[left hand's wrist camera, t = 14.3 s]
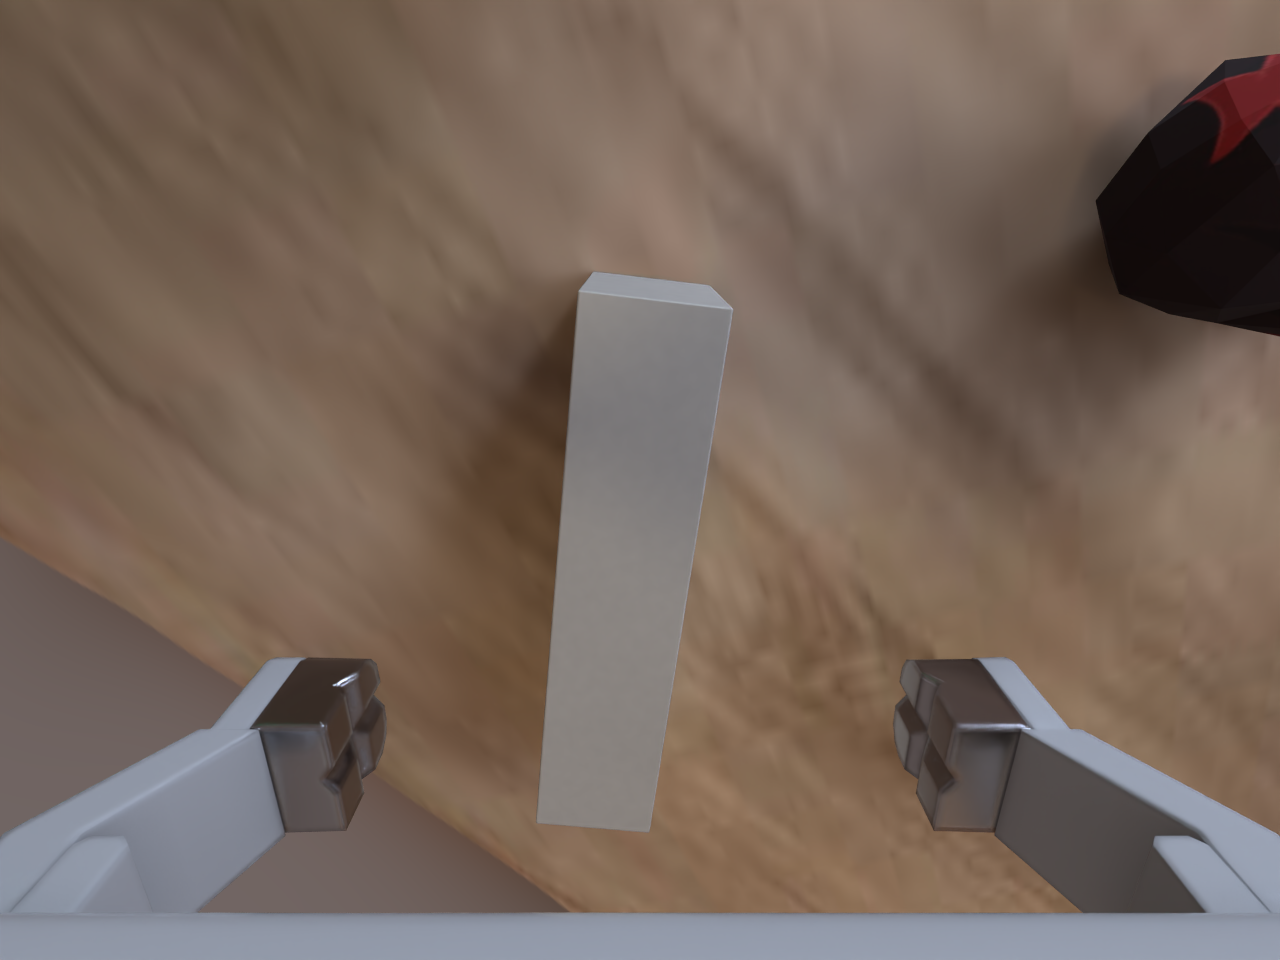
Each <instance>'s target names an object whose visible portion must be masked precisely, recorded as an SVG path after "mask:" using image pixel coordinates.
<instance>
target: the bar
mask: <svg viewBox="0 0 1280 960" xmlns="http://www.w3.org/2000/svg"><path fill="white" fill-rule="evenodd" d="M732 314H733V309H732V308H731V307H730V306H729V305H728V304H727V302H726V301H725V300H724V299H723V298H722V297H721V296H720V295H719V294H718V293H717V292H716V291H715V290H714V289H713V288H712V287H711V286H709V285H702V284H693V283H685V282H677V281H668V280H660V279H651V278H643V277H635V276H626V275H618V274H609V273H601V272H593V273H592V274H591V275H590V277H589V278H588V279H587V280H586V282H585V283H584V284H583V286H582V287H581V288H580V289H579V291H578V297H577V310H576V322H575V335H574V347H573V360H572V373H571V385H570V398H569V410H568V423H567V436H566V448H565V461H564V473H563V486H562V499H561V511H560V524H559V536H558V549H557V562H556V574H555V587H554V599H553V612H552V625H551V637H550V650H549V662H548V675H547V688H546V700H545V713H544V725H543V738H542V751H541V763H540V776H539V788H538V801H537V814H536V823H540V824H552V825H564V826H576V827H588V828H600V829H612V830H623V831H635V832H647V833H648V832H649V831H650V825H651V819H652V812H653V806H654V800H655V794H656V787H657V781H658V775H659V769H660V763H661V756H662V750H663V744H664V738H665V731H666V725H667V719H668V713H669V706H670V700H671V694H672V688H673V681H674V675H675V669H676V663H677V657H678V650H679V644H680V638H681V632H682V625H683V619H684V613H685V607H686V600H687V594H688V588H689V582H690V576H691V569H692V563H693V557H694V551H695V544H696V538H697V532H698V526H699V519H700V513H701V507H702V501H703V494H704V488H705V482H706V476H707V470H708V463H709V457H710V451H711V445H712V438H713V432H714V426H715V420H716V413H717V407H718V401H719V395H720V388H721V382H722V376H723V370H724V364H725V357H726V351H727V345H728V339H729V332H730V326H731V320H732Z"/></svg>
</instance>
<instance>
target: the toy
mask: <svg viewBox="0 0 1280 960" xmlns="http://www.w3.org/2000/svg"><path fill="white" fill-rule="evenodd" d="M1096 204H1097V209H1098V214H1099V219H1100V224H1101V228H1102V233H1103V238H1104V243H1105V248H1106V252H1107V257H1108V262H1109V266H1110V268H1111V271H1112V274H1113V277H1114V280H1115V283H1116V286H1117V288H1118V291H1119V294H1121V295H1124V296H1126V297H1129V298H1131V299H1134V300H1136V301H1138V302H1141V303H1143V304H1146V305H1148V306H1151V307H1153V308H1156V309H1158V310H1161V311H1163V312H1166V313H1168V314H1172V315H1177V316H1182V317H1188V318H1193V319H1198V320H1203V321H1209V322H1214V323H1219V324H1224V325H1228V326H1233V327H1238V328H1243V329H1247V330H1252V331H1257V332H1262V333H1266V334H1271V335H1276V336H1280V54H1274V55H1266V56H1258V57H1249V58H1241V59H1232V60H1225V61H1224V62H1223V63H1222V64H1221V65H1220V66H1219V67H1218V68H1217V69H1216V70H1215V71H1213V72H1212V73H1211V74H1210V75H1209V76H1208V77H1207V78H1206V79H1205V80H1204V81H1203V82H1202V83H1201V84H1200V85H1199V86H1197V87H1196V88H1195V89H1194V90H1193V91H1192V92H1191V93H1190V94H1189V95H1188V96H1187V97H1186V98H1185V99H1184V100H1183V101H1181V102H1180V103H1179V104H1178V105H1177V106H1176V107H1175V108H1174V109H1173V110H1172V111H1171V112H1170V113H1169V114H1168V115H1167V116H1165V117H1164V118H1163V119H1162V120H1161V121H1160V122H1159V123H1158V124H1157V125H1156V126H1155V127H1154V128H1153V129H1152V130H1151V131H1149V132H1148V134H1147V135H1146V136H1145V137H1144V139H1143V140H1142V141H1141V143H1140V144H1139V145H1138V147H1137V148H1136V149H1135V150H1134V152H1133V153H1132V154H1131V156H1130V157H1129V158H1128V160H1127V161H1126V162H1125V163H1124V165H1123V166H1122V167H1121V169H1120V170H1119V171H1118V172H1117V174H1116V175H1115V176H1114V178H1113V179H1112V180H1111V182H1110V183H1109V184H1108V185H1107V187H1106V188H1105V189H1104V191H1103V192H1102V193H1101V195H1100V196H1099V197H1098V198H1097V200H1096Z"/></svg>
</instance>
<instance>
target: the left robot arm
mask: <svg viewBox="0 0 1280 960" xmlns="http://www.w3.org/2000/svg"><path fill="white" fill-rule="evenodd" d="M379 683H380V677H379V673H378V668H377V664H376V663H375V662H374V661H373V660H372V659H352V658H282V657H276V658H273V659H271V660H268V661H267V662H266V663H265V664H264V665H263V666H262V667H261V669H260V670H259V671H258V672H257V673H256V675H255V676H254V677H253V678H252V679H251V681H250V682H249V683H248V684H247V685H246V687H245V688H244V689H243V690H242V691H241V693H240V694H239V695H238V696H237V697H236V698H235V700H234V701H233V702H232V703H231V705H230V706H229V707H228V708H227V709H226V710H225V712H224V713H223V714H222V715H221V716H220V718H219V719H218V720H217V721H216V722H215V724H214V725H213V726H212V727H211V728H210V729H199V730H197V731H195V732H193V733H191V734H190V735H188V736H186V737H184V738H182V739H180V740H178V741H176V742H174V743H173V744H171V745H169V746H167V747H165V748H163V749H161V750H159V751H158V752H156V753H154V754H152V755H150V756H148V757H146V758H144V759H142V760H141V761H139V762H137V763H135V764H133V765H131V766H129V767H127V768H126V769H124V770H122V771H120V772H118V773H116V774H114V775H112V776H111V777H109V778H107V779H105V780H103V781H101V782H99V783H97V784H95V785H93V786H92V787H90V788H88V789H86V790H84V791H82V792H80V793H78V794H77V795H75V796H73V797H71V798H69V799H67V800H65V801H63V802H62V803H60V804H58V805H56V806H54V807H52V808H50V809H48V810H46V811H45V812H43V813H41V814H39V815H37V816H35V817H33V818H31V819H29V820H28V821H26V822H24V823H22V824H20V825H18V826H16V827H14V828H13V829H11V830H9V831H7V832H5V833H4V834H3V835H2V836H1V837H0V960H1280V836H1279V835H1278V834H1276V833H1274V832H1273V831H1271V830H1269V829H1267V828H1265V827H1263V826H1261V825H1259V824H1258V823H1256V822H1254V821H1252V820H1250V819H1248V818H1246V817H1244V816H1243V815H1241V814H1239V813H1237V812H1235V811H1233V810H1231V809H1229V808H1228V807H1226V806H1224V805H1222V804H1220V803H1218V802H1216V801H1214V800H1212V799H1211V798H1209V797H1207V796H1205V795H1203V794H1201V793H1199V792H1197V791H1196V790H1194V789H1192V788H1190V787H1188V786H1186V785H1184V784H1182V783H1181V782H1179V781H1177V780H1175V779H1173V778H1171V777H1169V776H1167V775H1166V774H1164V773H1162V772H1160V771H1158V770H1156V769H1154V768H1152V767H1151V766H1149V765H1147V764H1145V763H1143V762H1141V761H1139V760H1137V759H1136V758H1134V757H1132V756H1130V755H1128V754H1126V753H1124V752H1122V751H1121V750H1119V749H1117V748H1115V747H1113V746H1111V745H1109V744H1107V743H1106V742H1104V741H1102V740H1100V739H1098V738H1096V737H1094V736H1092V735H1091V734H1089V733H1087V732H1085V731H1083V730H1081V729H1070V728H1069V727H1068V726H1067V725H1066V724H1065V722H1064V721H1063V720H1062V719H1061V718H1060V716H1059V715H1058V714H1057V713H1056V712H1055V711H1054V709H1053V708H1052V707H1051V706H1050V705H1049V703H1048V702H1047V701H1046V700H1045V699H1044V697H1043V696H1042V695H1041V694H1040V693H1039V691H1038V690H1037V689H1036V688H1035V687H1034V685H1033V684H1032V683H1031V682H1030V681H1029V679H1028V678H1027V677H1026V676H1025V675H1024V673H1023V672H1022V671H1021V670H1020V669H1019V668H1018V666H1017V665H1016V664H1015V663H1014V662H1013V661H1012V660H1010V659H1008V658H1006V657H990V658H972V659H918V660H906V661H905V663H904V665H903V667H902V671H901V677H900V683H901V685H902V687H903V689H904V691H905V693H906V696H905V697H904V698H903V699H902V700H901V701H900V702H899V703H898V704H897V705H896V706H895V714H894V721H893V727H894V739H895V745H896V748H897V752H898V756H899V758H900V760H901V762H902V765H903V767H904V769H905V770H906V771H908V772H909V773H910V774H912V775H913V776H914V777H916V778H917V779H918V784H917V789H916V794H917V797H918V799H919V801H920V803H921V805H922V807H923V809H924V811H925V813H926V815H927V817H928V819H929V821H930V823H931V826H932V828H933V830H934V831H960V832H995V836H996V837H997V838H998V839H999V840H1000V841H1001V842H1003V843H1004V844H1005V845H1006V846H1007V847H1008V848H1010V849H1011V850H1012V851H1013V852H1014V853H1015V854H1016V855H1018V856H1019V857H1020V858H1021V859H1022V860H1023V861H1024V862H1026V863H1027V864H1028V865H1029V866H1030V867H1031V868H1032V869H1034V870H1035V871H1036V872H1037V873H1038V874H1039V875H1040V876H1042V877H1043V878H1044V879H1045V880H1046V881H1047V882H1048V883H1050V884H1051V885H1052V886H1053V887H1054V888H1055V889H1057V890H1058V891H1059V892H1060V893H1061V894H1062V895H1063V896H1065V897H1066V898H1067V899H1068V900H1069V901H1070V902H1071V903H1073V904H1074V905H1075V906H1076V907H1077V908H1078V909H1079V910H1081V911H1082V912H1083V913H197V912H198V911H200V910H201V909H202V908H203V907H204V906H205V905H206V904H208V903H209V902H210V901H211V900H212V899H213V898H215V897H216V896H217V895H218V894H219V893H220V892H221V891H223V890H224V889H225V888H226V887H227V886H228V885H229V884H231V883H232V882H233V881H234V880H235V879H236V878H237V877H239V876H240V875H241V874H242V873H243V872H244V871H246V870H247V869H248V868H249V867H250V866H251V865H252V864H254V863H255V862H256V861H257V860H258V859H259V858H260V857H262V856H263V855H264V854H265V853H266V852H267V851H269V850H270V849H271V848H272V847H273V846H274V845H275V844H276V843H278V842H279V841H280V840H281V839H282V838H283V837H285V832H318V831H346V830H347V828H348V826H349V824H350V822H351V819H352V817H353V815H354V813H355V811H356V809H357V807H358V805H359V803H360V801H361V799H362V796H363V794H364V789H363V784H362V779H363V778H364V777H366V776H367V775H368V774H370V773H371V772H372V771H374V770H375V769H376V767H377V765H378V762H379V760H380V758H381V756H382V753H383V748H384V743H385V739H386V720H387V719H386V712H385V706H384V705H383V704H382V703H381V702H380V701H379V700H378V699H377V698H376V697H375V696H374V693H375V691H376V689H377V687H378V685H379Z"/></svg>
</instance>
